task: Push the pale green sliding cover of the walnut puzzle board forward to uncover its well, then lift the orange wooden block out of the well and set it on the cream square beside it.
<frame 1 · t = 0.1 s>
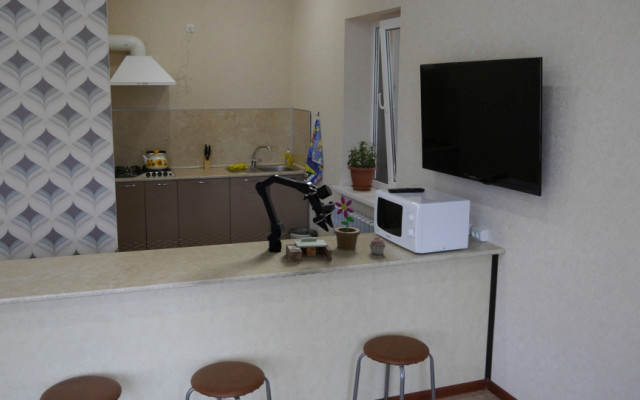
hand: (330, 229, 309), 15 cm above the countertop, tool tilted 30°, fingers open, 9 cm apart
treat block: (310, 254, 315), resting in puzzle board
cupcake: (377, 253, 321), on the countertop
flowerpot: (346, 247, 330), on the countertop
puzzle board: (307, 256, 311), on the countertop
sliding cover: (310, 242, 313), point 7 cm above the countertop, slide at 0.0 cm
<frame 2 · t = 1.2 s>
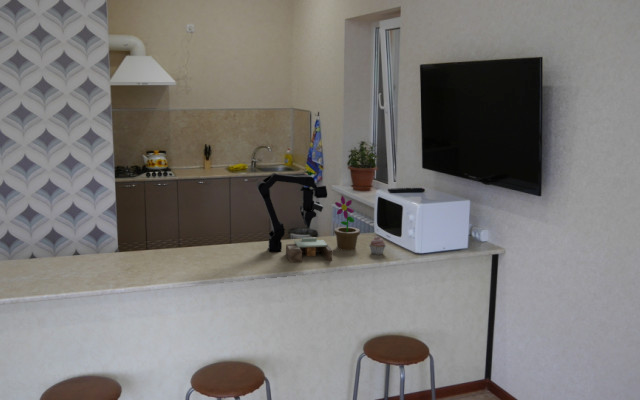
hand: (307, 226, 322), 13 cm above the countertop, tool pointing down, fingers open, 6 cm apart
nothing on the countertop moved.
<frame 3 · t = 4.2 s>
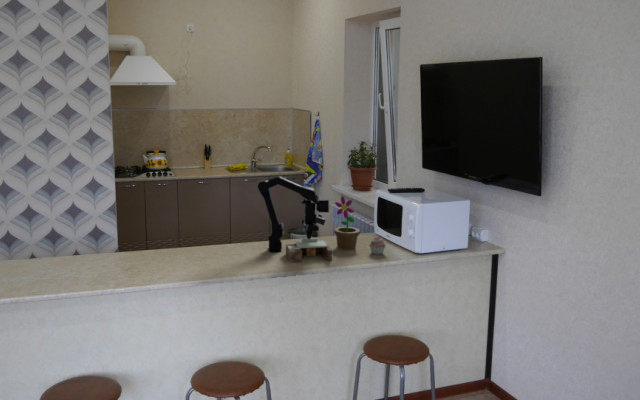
hand: (309, 239, 317), 7 cm above the countertop, tool pointing down, fingers closed
sliding cover: (311, 242, 312), point 7 cm above the countertop, slide at 1.4 cm, touching gripper
everything else where it was.
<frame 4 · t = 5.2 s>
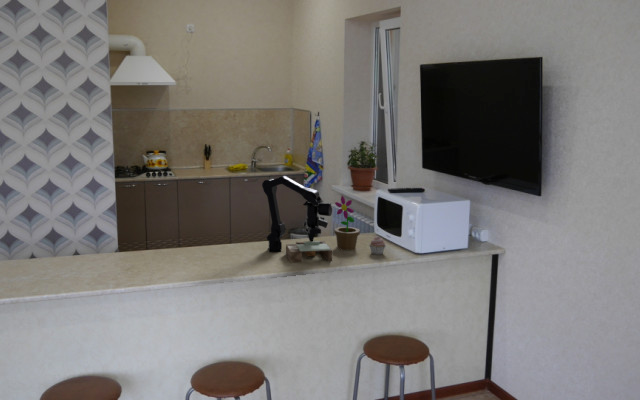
hand: (311, 242, 312), 7 cm above the countertop, tool pointing down, fingers closed
sliding cover: (313, 245, 306), point 7 cm above the countertop, slide at 7.3 cm, touching gripper
everything else where it was.
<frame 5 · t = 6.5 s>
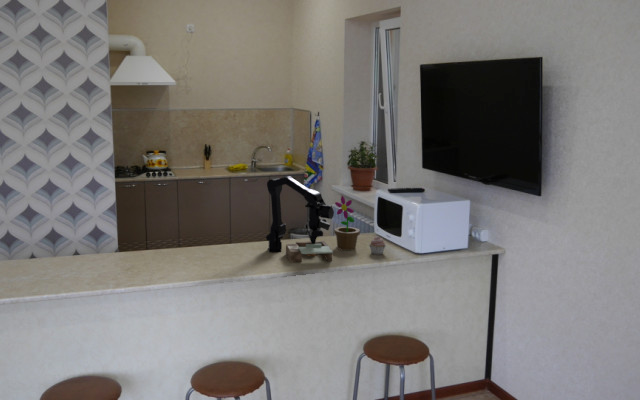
hand: (313, 245, 307), 7 cm above the countertop, tool pointing down, fingers closed
sliding cover: (315, 248, 302), point 7 cm above the countertop, slide at 12.1 cm, touching gripper
everything else where it was.
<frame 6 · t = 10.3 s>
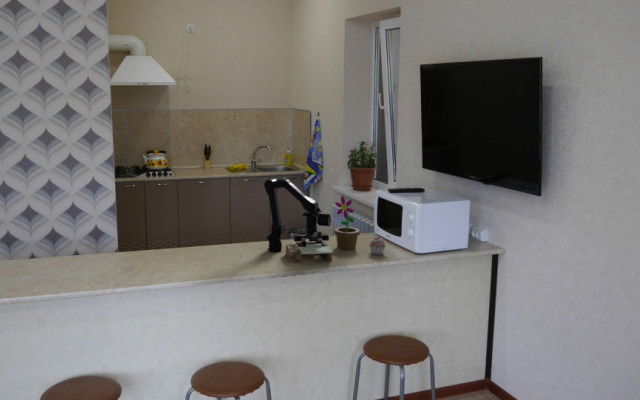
hand: (310, 252, 314), 1 cm above the countertop, tool pointing down, fingers closed on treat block, 4 cm apart
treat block: (310, 254, 315), resting in puzzle board, touching gripper
sliding cover: (315, 248, 301), point 7 cm above the countertop, slide at 12.3 cm
everything else where it was.
when the fingers open (8 cm above the countertop, at t = 13.7 s): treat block drops 1 cm, resting on puzzle board.
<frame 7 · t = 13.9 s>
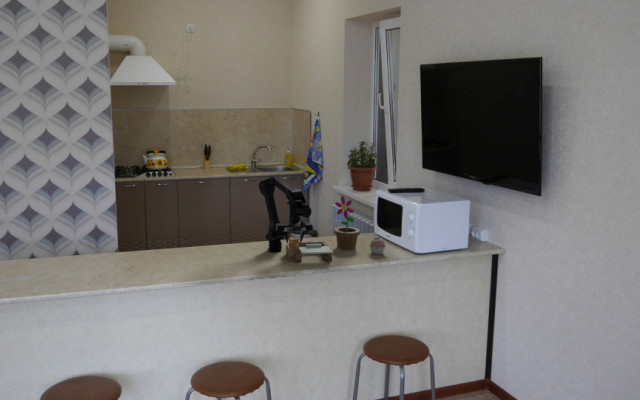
hand: (293, 242, 306), 8 cm above the countertop, tool pointing down, fingers open, 7 cm apart
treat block: (293, 247, 306), point 6 cm above the countertop, touching puzzle board
everything else where it was.
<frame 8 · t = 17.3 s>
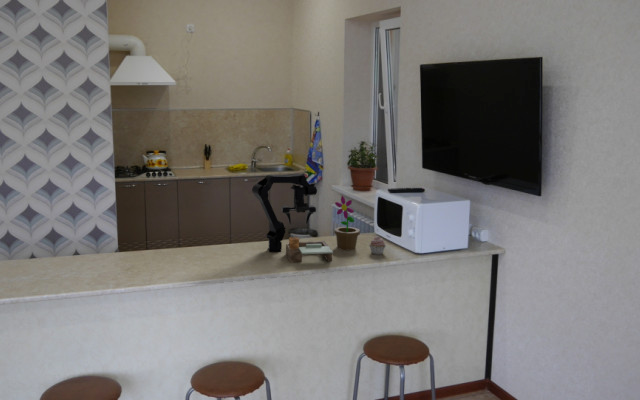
hand: (298, 224, 326), 13 cm above the countertop, tool pointing down, fingers open, 9 cm apart
nothing on the countertop moved.
at the end: sliding cover slide at 12.3 cm; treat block 0.0 cm from the target spot, point 5.7 cm above the countertop; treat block tilted 0° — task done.
